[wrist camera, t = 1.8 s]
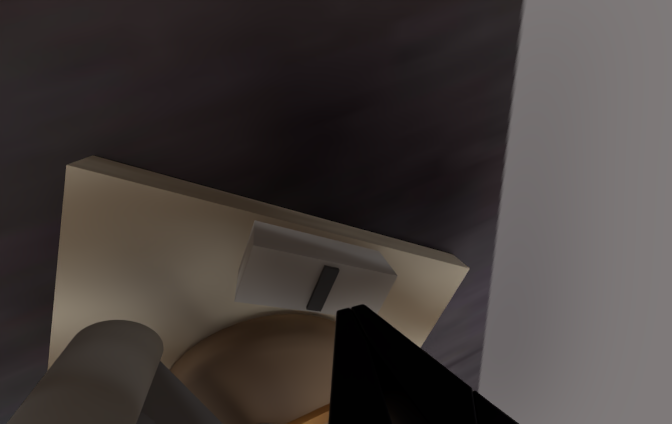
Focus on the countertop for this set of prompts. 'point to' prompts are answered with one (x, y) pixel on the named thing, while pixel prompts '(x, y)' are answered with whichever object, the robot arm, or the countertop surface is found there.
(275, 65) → the countertop surface
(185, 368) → the crank handle
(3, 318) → the countertop surface
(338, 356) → the robot arm
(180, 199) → the stand
